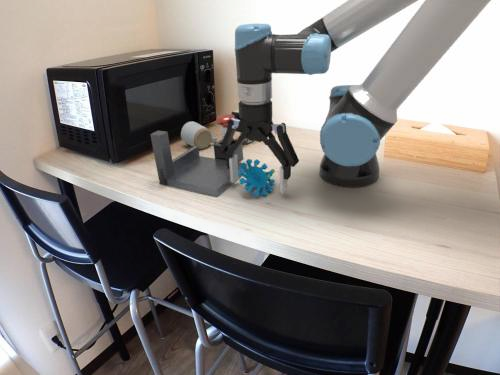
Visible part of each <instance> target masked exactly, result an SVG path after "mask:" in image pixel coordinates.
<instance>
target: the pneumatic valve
mask: <svg viewBox="0 0 500 375" xmlns="http://www.w3.org/2000/svg"><path fill="white" fill-rule="evenodd" d="M230 114H232V115H234V116H235V117H236V118H237V120H240V117H239V108H237V109H235V110H234V111H231V113H230ZM236 132H237V133H239V136H240V135H241V134H242V130H241V129H240V127H239V126H238V127H237V128H236V131H235V133H236ZM252 142H253V141H250V140H249V139H247V138H246V140H245V141H244V142H243V143H246V144H249V145H250V143H252Z"/></svg>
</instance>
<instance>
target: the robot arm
mask: <svg viewBox="0 0 500 375" xmlns="http://www.w3.org/2000/svg"><path fill="white" fill-rule="evenodd" d="M418 1H419V0H347V1H345V2H343V3H342V4H340V5H339V6H338V7H336V8H334V9H332V10H331V11H330V12H329V13H327V14H325V15H324V16H323V17H321V18H319V19H317V20H316V21H315V22H313V23H312V24H310V25H308V26H307V27H305V28H304V29H302V30H301V31H300V32H298V33H296V34H275V33H273V31H272V27H271V25H270V24H268V23H246V24H240V25H238V26H237V27H236V28H235V30H234V52H235V53H234V56H235V65H236V66H235V68H236V69H235V70H236V82H237V83H236V86H237V99H238V100H239V102H238V109H239V117H240V120H237V118H236V117H233V118H232V119H230V120H228V129H227V131H226V134H225V136H224V139H223V141H222V144H221V147H220V149H219V154H223V155H225V157H226V160H227V168H228V169H230V178H231V182H232V183H233V184H234V183H235V182H237V181H238V180H239V179H240V178H239V177H238V162H237V155H233V154H234V153H235V152H236V151H237V149H238V148H239V147H240V146H241V144H242V145H243V144H244V143H245V142H244V141H245V140H246V138H247V139H249V140H250V141H252V142H254V141H255V142H258V143H263V144H264V145H265V146H267V147H268V148H269V150H270V151H271V152H272V154H273V156H275V157H276V160H278V162H279V163H280V164H281V166H280V167H279V193H281V194H282V193H284V192H285V191H286V190H287V189H288V180H289V179H290V178H291V174H292V172H291V171H292V170H291V169H292V168H295V166H297V164H298V163H299V161H300V159H299V157H298V154H297V152H296V151H295V148H294V145H293V143H292V142H291V139H290V137H289V135H288V133H287V125H286V123H285V122H281V123H280V124H279V123H277V124H274V122H273V101H272V98H273V86H272V85H273V77H272V76H273V75H272V74H289V75H291V74H292V75H293V74H294V75H309V76H312V75H321V74H322V75H323V74H326V73H327V72H328V71H329V69H330V64H331V57H332V56H331V54H332V52H334V51H336V50H337V49H339V48H340V47H342V46H344V45H345V44H348V42H351V41H352V40H354V39H355V38H358V36H360V35H363V34H364V33H366V32H368V31H369V30H371V29H372V28H374V27H376V26H377V25H379V24H381V23H382V22H384V21H385V20H387V19H389V18H391V17H393V16H394V15H396V14H397V13H400V12H401V11H403V10H405V9H407V7H409V6H411V5H413V4H414V3H417V2H418ZM491 1H492V0H424V1H423V3H422V4H421V5H420V6H419V8H418V9H417V11H416V12H415V13H414V15H413V16H412V17H411V18H410V20H409V21H408V23H407V24H406V25H405V27H404V28H403V29H402V31H401V32H400V33H399V35H397V37H396V38H395V39H394V41H393V42H392V44H391V45H390V46H389V48H387V50H386V52H385V53H384V54H383V55H382V57H381V58H380V59H379V61H378V62H377V64H376V65H375V66H374V68H373V69H372V70H371V71H370V72H369V74H368V75H367V77H366V78H365V79H364V80H363V82H361V84H347V85H346V84H345V85H336V86H333V87H331V90H330V94H329V98H328V99H329V109H328V113H327V115H326V118H325V121H324V123H323V124H322V126H321V129H320V132H319V143H320V147H321V150H322V152H323V154H324V155H323V157H322V159H321V161H320V164H319V175H320V176H319V177H321V179H322V180H324V181H326V182H327V183H330V184H332V185H336V186H340V187H347V188H357V187H358V188H359V187H366V186H369V185H371V184H374V183H375V182H377V181H378V179H379V174H380V164H379V160H378V157H377V152H378V150H379V147H380V145H381V140H382V139H384V137H385V136H386V135H387V134H388V133H389V131H391V129H392V128H393V127H394V126H395V124H396V123H397V122H398V113H397V112H398V109H399V108H400V106H401V105H403V103H404V102H405V101H406V100H407V98H408V97H409V96H410V95H411V94H412V92H414V91H415V89H416V88H417V87H418V86H419V84H420V83H421V82H422V81H423V80H424V79H425V78H426V77H427V75H428V74H429V73H430V72H431V71H432V69H434V67H435V66H436V65H437V63H438V62H439V61H440V60H441V59H442V57H444V55H445V54H446V53H447V52H448V51H449V50H450V49H451V47H452V46H453V45H454V44H455V43H456V41H457V40H458V39H459V38H460V37H461V36H462V34H463V33H464V32H465V31H466V30H467V28H469V26H470V25H471V24H472V23H473V22H474V20H475V19H476V18H477V17H478V16H479V14H481V12H482V11H483V10H484V9H485V8H486V7H487V6H488V4H489V3H490V2H491ZM238 126H239V127H240V129H241V130H242V134H241V135H240V134H239V136H238V138H236V139H237V140H236V142H235V143H234V144H233V145H232V146H231V148H230V149H228V148H229V145H230V143H231V141H232V138H233V139H234V136H235V133H236V128H237V127H238ZM273 131H274V133H275V134H274V133H273ZM275 135H277V139H278V141H279V142H278V141H277V140H276V137H275ZM238 178H239V179H238ZM237 179H238V180H237ZM236 180H237V181H236Z"/></svg>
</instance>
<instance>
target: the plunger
mask: <svg viewBox="0 0 500 375" xmlns="http://www.w3.org/2000/svg"><path fill="white" fill-rule="evenodd" d="M233 117H235V116H234V115H232V113H223V114H219V115H217V116H216V123H217V125H219V126H220V129H221V140H222V141H223V139H224V136H225V134H226V131H227V129H228V120H230V119H232V118H233ZM233 139H234V137H233V138H232V141H231V143H230V145H229V146H231V145H232V144H233Z"/></svg>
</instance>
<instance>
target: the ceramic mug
mask: <svg viewBox="0 0 500 375" xmlns="http://www.w3.org/2000/svg"><path fill="white" fill-rule="evenodd" d="M180 138H181V140H182V142H184V144H187V145H189V146H191V147H194V146H198V148H199V150H204V149H206V148H208V147H209V146H210V144H211V143H212V144H216V143H217V137H215V136H213V135H212V132H211V131H210V129H208V128H207V127H206V126H203V125H201V124H200V123H198V122H195V121H187V122H186V123H185V124H183V126H182V128H181V131H180Z"/></svg>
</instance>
